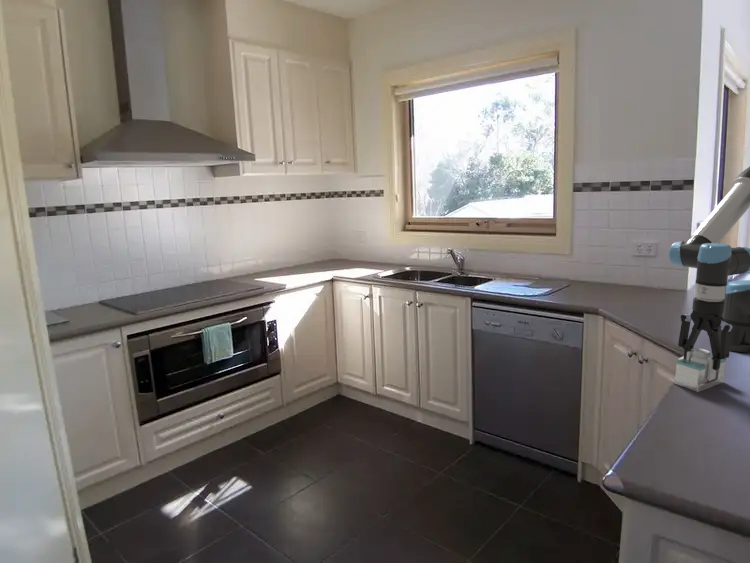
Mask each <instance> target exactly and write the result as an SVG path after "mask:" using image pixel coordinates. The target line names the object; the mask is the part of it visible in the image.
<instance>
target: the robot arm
mask: <svg viewBox="0 0 750 563" xmlns="http://www.w3.org/2000/svg"><path fill="white" fill-rule="evenodd" d="M749 209H750V166H748V167H747V168H745V169H743V171H742V172H741V173H739V175H738V176H736V177H735V179H734V180H733V181H732V183H731V184H730V190H729V191H728V192H727V193H726V194H725V195H724V197H723V198H722V199H721V200H720V201H719V203H718V204H716V206H715V207H714V209H713V210H712V211H711V212H710V213H709V214H708V216H706V218H705V219H704V220H703V221H702V222H701V223H700V225H699V226H698V227H697V228H696V229H695V231H693V233H692V234H690V236H689V237H688V238H687V239H686V241H684V240H681V241H675V242H674V243H672V244H671V246H670V247H669V249H668V259H669V261H670V262H671V263H672V264H673V265H676V266H680V267H684V268H691V269H696V274H695V283H694V291H693V292H694V293H693V296H694V298H693V299H692V305H691V306H692V308H691V309H692V310H691V311H692V312H691V313H685V314H681V315H680V321H681V323H680V324H681V325H680V329H679V330H680V331H679V336H678V343H677V346H678V348H682V349H683V350H684V353H683V356H684V359H686V360H689V361H690V359H691V357H692V356H694V354H693V353H694V349H695V347H694V346H695V344H696V342H697V341H698V339H699V336H700V334H701V331H705V332H706V334H707V336H708V338H709V343H710V349H711V355H712V356H713V357H712V358H710V359H709V367H708V375H707V380H709V381H710V380H713V379H715V376H716V370H718V369H719V368H720V362H721V359H727V358H730V351H733V352H738V353H744V354H747V353H749V354H750V279H747V280H746V279H745V280H744V279H743V280H734V281H733V280H732V281H728V278H729V276H735V275H736V276H737V275H743V274H746V273H749V272H750V248H749V247H745V246H744V247H741V246H737V247H731V245H730V244H726V243H721V242H722V240H723V239H724V238H726V235H727V234H728V233H729V232H730V231H731V230H732V228H733V227H734V226H735V225H736V224H737V223H738V221H739V220H740V219H741V218H742V217H743V216H744V214H745V213H746V212H747V211H748V210H749ZM691 322H692V323H693V325H692V327H691ZM690 328H691V331H690Z"/></svg>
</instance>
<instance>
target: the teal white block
mask: <svg viewBox="0 0 750 563" xmlns="http://www.w3.org/2000/svg"><path fill="white" fill-rule="evenodd" d="M712 357H713V356H712V354H710V357H709V358H712ZM726 362H727V358H725V359H721V362H720V368H719V369H718V370H716V376H715V379H713V380H710V381H709V382H707V383H704V376H705V369H706V366H705V365H702V364H699V363H695V362H692V361H689V360H686V359H681V360H678V359H677V360H676V366H675V375H674V378H673V384H675V385H677V386H678V387H679V386H680V387H682V388H685V389H688V390H691V391H694V392H697V393H699V392H701V391H704V390H707V389H710V388H713V387H716V386H718V385H721V384H724V383H725V379H726V378H725V368H726Z"/></svg>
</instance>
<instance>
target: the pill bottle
mask: <svg viewBox="0 0 750 563" xmlns="http://www.w3.org/2000/svg"><path fill="white" fill-rule="evenodd" d="M693 350H694V353H693V354H694V356H692V357H691V359H690V361H692V362H695V363H699V364H702V365H705V366H706V369H705V376H704V383H707V382H709V380H707V375H708V367H709V359H710V358H709V357H710V355H711V351H709V350H708V349H704V348H694V349H693Z"/></svg>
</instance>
